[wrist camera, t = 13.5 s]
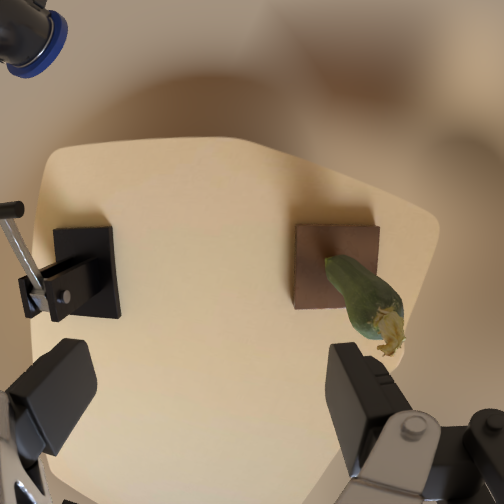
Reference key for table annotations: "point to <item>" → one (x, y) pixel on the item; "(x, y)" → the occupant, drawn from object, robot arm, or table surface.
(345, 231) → the board
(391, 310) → the vegetable
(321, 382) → the table surface
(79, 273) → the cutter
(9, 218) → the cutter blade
